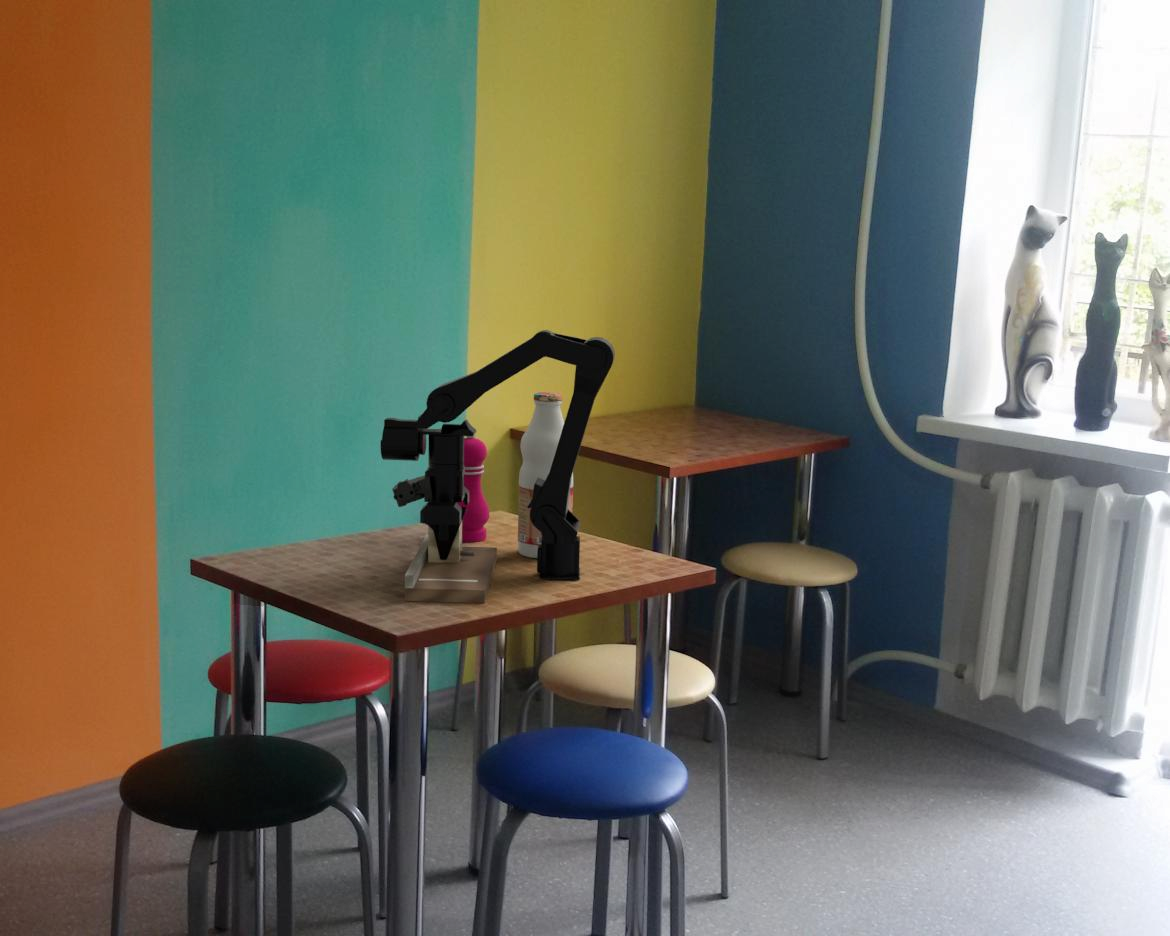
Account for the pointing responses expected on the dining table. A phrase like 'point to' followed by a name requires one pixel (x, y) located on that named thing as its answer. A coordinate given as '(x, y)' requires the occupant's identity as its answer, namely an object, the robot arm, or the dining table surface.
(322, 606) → the dining table surface
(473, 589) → the walnut board
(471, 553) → the beige block
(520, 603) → the dining table surface
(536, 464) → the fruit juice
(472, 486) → the pepper mill
